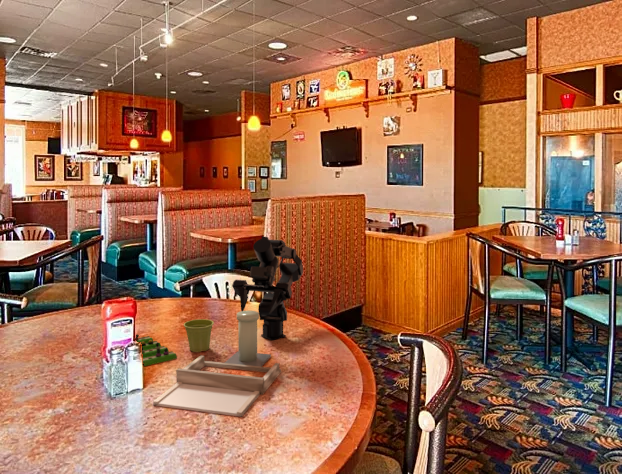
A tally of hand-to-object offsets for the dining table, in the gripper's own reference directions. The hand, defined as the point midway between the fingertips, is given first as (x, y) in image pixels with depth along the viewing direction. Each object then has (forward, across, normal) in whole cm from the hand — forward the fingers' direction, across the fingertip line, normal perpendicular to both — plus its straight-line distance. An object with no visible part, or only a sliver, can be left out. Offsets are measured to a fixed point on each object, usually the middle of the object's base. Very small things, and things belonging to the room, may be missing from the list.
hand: (255, 311), depth 156 cm
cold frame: (+24, 0, -4) cm, 24 cm away
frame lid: (+34, 0, -14) cm, 37 cm away
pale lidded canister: (+14, 0, +4) cm, 14 cm away
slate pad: (+14, 0, +5) cm, 15 cm away
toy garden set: (+18, -37, +3) cm, 41 cm away
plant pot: (+10, -19, +9) cm, 23 cm away
